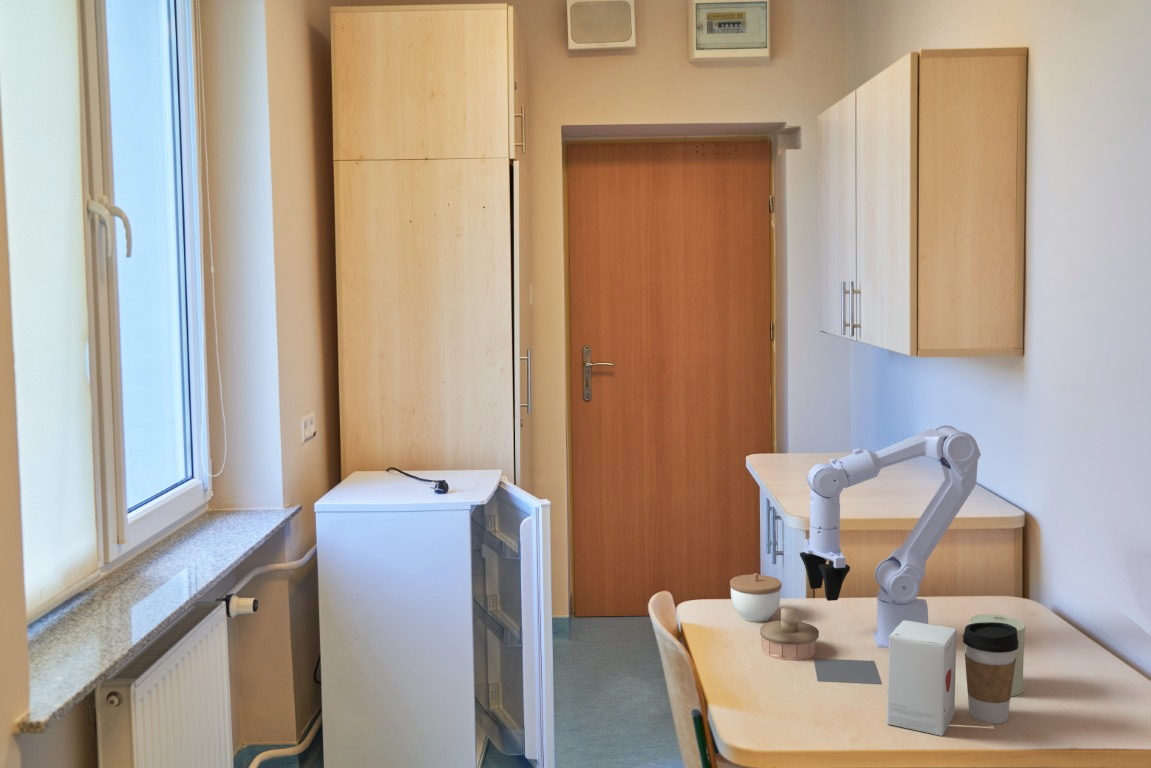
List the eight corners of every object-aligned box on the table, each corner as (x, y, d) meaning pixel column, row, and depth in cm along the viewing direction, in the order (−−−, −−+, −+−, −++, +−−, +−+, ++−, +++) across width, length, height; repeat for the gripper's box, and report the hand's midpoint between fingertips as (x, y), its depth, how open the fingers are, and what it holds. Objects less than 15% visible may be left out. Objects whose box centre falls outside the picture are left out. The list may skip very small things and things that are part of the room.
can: (1021, 679, 184) (1023, 614, 182) (1025, 699, 175) (1028, 631, 174) (966, 673, 187) (967, 609, 185) (967, 693, 178) (969, 626, 177)
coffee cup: (1021, 729, 164) (1024, 637, 162) (965, 725, 166) (967, 634, 164) (1010, 707, 172) (1013, 620, 170) (956, 704, 174) (959, 617, 172)
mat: (874, 662, 192) (874, 660, 192) (881, 686, 182) (881, 684, 182) (813, 660, 194) (813, 658, 194) (817, 683, 183) (817, 680, 183)
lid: (811, 624, 203) (811, 600, 203) (825, 643, 193) (825, 618, 192) (755, 624, 203) (755, 601, 203) (766, 644, 192) (766, 619, 192)
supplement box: (943, 737, 161) (945, 645, 160) (885, 725, 166) (887, 635, 165) (956, 716, 169) (958, 627, 168) (900, 705, 174) (902, 618, 172)
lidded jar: (791, 617, 218) (792, 574, 217) (758, 629, 211) (759, 584, 210) (752, 605, 226) (752, 563, 225) (719, 616, 220) (719, 573, 219)
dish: (813, 644, 202) (813, 626, 202) (816, 663, 193) (816, 644, 192) (761, 642, 204) (761, 624, 204) (762, 660, 194) (762, 642, 194)
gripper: (790, 518, 207) (790, 584, 208) (820, 536, 193) (820, 607, 194) (823, 516, 208) (822, 582, 210) (856, 534, 194) (855, 604, 196)
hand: (823, 594), depth 202 cm, fingers open, 7 cm apart
